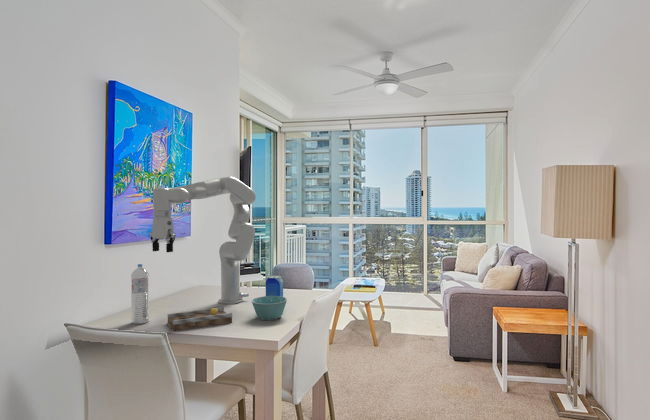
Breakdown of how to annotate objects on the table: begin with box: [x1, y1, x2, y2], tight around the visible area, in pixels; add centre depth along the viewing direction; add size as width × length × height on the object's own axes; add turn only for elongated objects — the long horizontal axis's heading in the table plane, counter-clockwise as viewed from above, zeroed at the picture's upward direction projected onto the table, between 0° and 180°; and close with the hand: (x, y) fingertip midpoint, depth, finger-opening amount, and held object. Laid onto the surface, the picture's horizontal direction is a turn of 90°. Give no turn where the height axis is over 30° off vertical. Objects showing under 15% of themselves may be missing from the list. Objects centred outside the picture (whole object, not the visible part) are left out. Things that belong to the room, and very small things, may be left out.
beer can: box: [265, 275, 284, 297], centre depth 203 cm, size 8×8×16 cm
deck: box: [167, 306, 233, 332], centre depth 179 cm, size 24×13×4 cm, turn 120°
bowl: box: [251, 295, 288, 321], centre depth 187 cm, size 16×16×8 cm
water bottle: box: [130, 263, 150, 325], centre depth 180 cm, size 7×7×25 cm
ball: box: [210, 307, 218, 315], centre depth 182 cm, size 3×3×3 cm
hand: (162, 251), depth 194 cm, fingers open, 9 cm apart
